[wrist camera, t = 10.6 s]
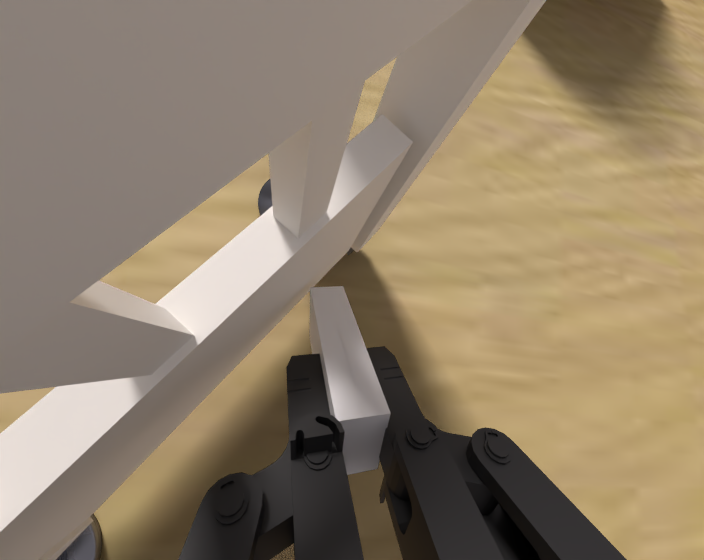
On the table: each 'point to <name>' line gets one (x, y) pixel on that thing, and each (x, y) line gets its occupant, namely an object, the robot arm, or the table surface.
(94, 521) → the hinge post
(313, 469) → the robot arm
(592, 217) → the table surface
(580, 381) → the table surface
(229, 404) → the table surface
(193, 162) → the gate
